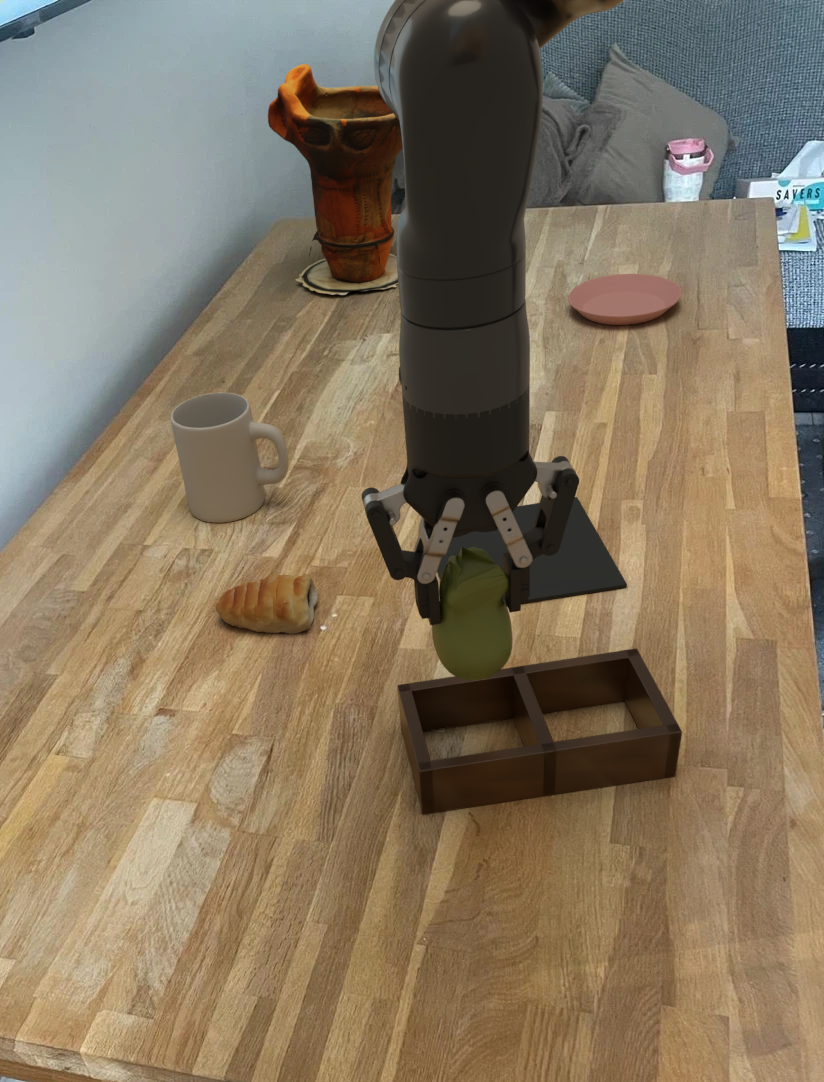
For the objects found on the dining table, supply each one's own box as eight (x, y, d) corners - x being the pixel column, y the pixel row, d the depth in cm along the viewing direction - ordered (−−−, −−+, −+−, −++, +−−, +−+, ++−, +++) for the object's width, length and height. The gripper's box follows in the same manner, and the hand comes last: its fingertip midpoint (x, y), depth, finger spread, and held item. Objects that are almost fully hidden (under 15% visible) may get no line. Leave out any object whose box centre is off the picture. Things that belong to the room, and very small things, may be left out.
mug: (178, 522, 118) (157, 429, 111) (203, 482, 124) (185, 391, 117) (284, 526, 115) (269, 430, 108) (304, 484, 121) (292, 391, 114)
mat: (576, 500, 111) (577, 496, 111) (626, 587, 99) (627, 584, 99) (421, 524, 112) (420, 521, 111) (451, 614, 99) (451, 611, 99)
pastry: (214, 639, 101) (206, 605, 99) (225, 597, 106) (218, 564, 104) (314, 635, 100) (309, 600, 97) (320, 592, 105) (315, 559, 102)
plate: (544, 312, 147) (545, 298, 146) (621, 280, 152) (622, 265, 151) (625, 340, 137) (626, 325, 136) (704, 304, 142) (706, 289, 141)
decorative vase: (444, 290, 158) (437, 70, 139) (286, 309, 160) (259, 96, 142) (433, 242, 173) (426, 39, 155) (289, 260, 176) (265, 62, 157)
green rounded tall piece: (491, 639, 82) (488, 524, 75) (527, 678, 78) (527, 561, 71) (424, 663, 81) (415, 549, 74) (456, 704, 77) (450, 587, 70)
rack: (632, 691, 89) (637, 647, 86) (676, 776, 81) (682, 731, 78) (400, 727, 89) (397, 684, 86) (422, 814, 81) (419, 771, 78)
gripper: (353, 428, 62) (378, 661, 73) (604, 386, 62) (591, 626, 73) (338, 374, 68) (363, 598, 79) (567, 335, 67) (560, 565, 78)
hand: (472, 610), depth 76 cm, fingers closed on green rounded tall piece, 5 cm apart
